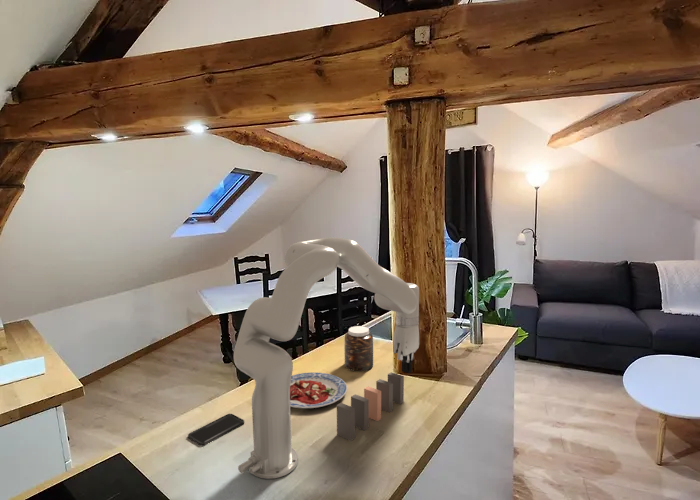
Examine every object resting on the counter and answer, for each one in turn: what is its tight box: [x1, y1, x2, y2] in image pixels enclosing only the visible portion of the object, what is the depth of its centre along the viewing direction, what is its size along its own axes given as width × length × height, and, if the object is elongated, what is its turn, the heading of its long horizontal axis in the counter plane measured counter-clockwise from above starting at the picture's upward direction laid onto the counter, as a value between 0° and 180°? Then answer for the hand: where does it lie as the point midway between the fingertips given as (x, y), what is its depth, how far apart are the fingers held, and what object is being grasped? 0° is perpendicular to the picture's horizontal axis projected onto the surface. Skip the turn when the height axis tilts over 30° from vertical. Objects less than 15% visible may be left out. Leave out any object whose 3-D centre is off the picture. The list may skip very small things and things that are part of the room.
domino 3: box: [375, 378, 394, 413], centre depth 136 cm, size 2×5×9 cm, turn 51°
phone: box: [187, 413, 245, 447], centre depth 126 cm, size 8×1×15 cm
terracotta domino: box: [363, 385, 382, 422], centre depth 131 cm, size 2×5×9 cm, turn 51°
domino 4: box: [387, 372, 405, 405], centre depth 142 cm, size 2×5×9 cm, turn 51°
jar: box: [343, 325, 374, 373], centre depth 169 cm, size 12×12×15 cm
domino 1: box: [336, 402, 356, 442], centre depth 122 cm, size 2×5×9 cm, turn 51°
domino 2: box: [350, 393, 370, 431], centre depth 127 cm, size 2×5×9 cm, turn 51°
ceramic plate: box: [290, 371, 348, 409], centre depth 147 cm, size 26×26×3 cm
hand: (406, 371), depth 146 cm, fingers closed
